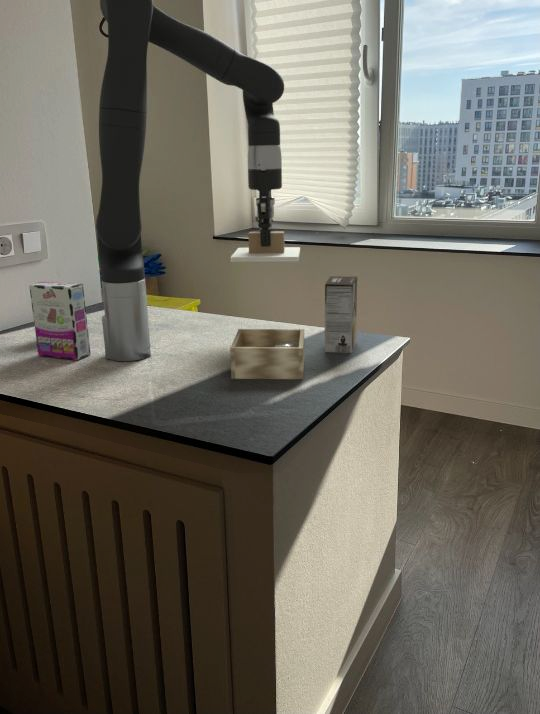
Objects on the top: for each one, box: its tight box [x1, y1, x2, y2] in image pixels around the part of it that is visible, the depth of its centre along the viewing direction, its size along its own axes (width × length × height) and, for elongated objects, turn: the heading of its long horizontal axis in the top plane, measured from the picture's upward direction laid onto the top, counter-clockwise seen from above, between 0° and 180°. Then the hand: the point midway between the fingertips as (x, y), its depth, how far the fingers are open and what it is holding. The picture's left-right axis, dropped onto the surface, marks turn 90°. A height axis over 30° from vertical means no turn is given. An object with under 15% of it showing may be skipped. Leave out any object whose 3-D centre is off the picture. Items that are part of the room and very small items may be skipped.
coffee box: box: [324, 275, 358, 354], centre depth 143 cm, size 9×6×16 cm
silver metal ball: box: [275, 342, 294, 347], centre depth 134 cm, size 4×4×4 cm
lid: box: [230, 230, 301, 263], centre depth 148 cm, size 15×15×6 cm
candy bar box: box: [28, 281, 91, 361], centre depth 142 cm, size 11×5×16 cm, turn 68°
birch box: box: [229, 328, 305, 380], centre depth 131 cm, size 14×14×7 cm
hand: (266, 244), depth 148 cm, fingers closed on lid, 3 cm apart
